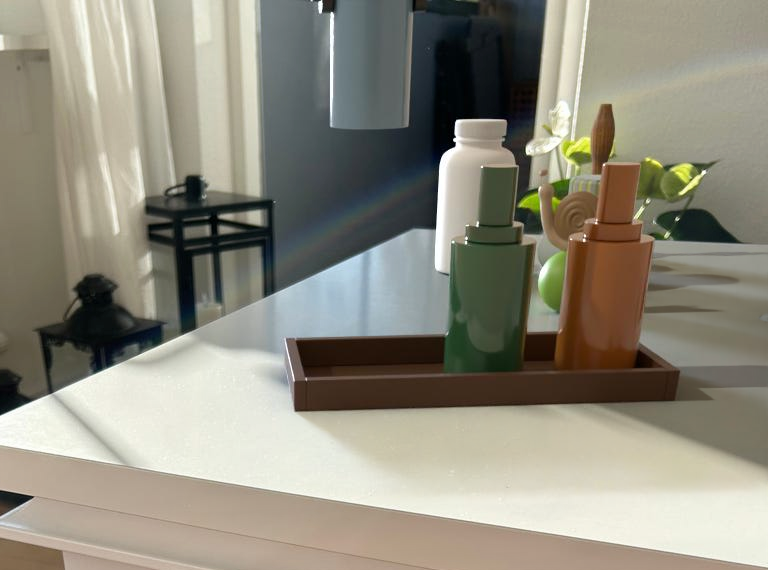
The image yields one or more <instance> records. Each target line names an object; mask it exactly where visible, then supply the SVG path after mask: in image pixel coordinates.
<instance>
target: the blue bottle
mask: <svg viewBox="0 0 768 570" xmlns="http://www.w3.org/2000/svg"><path fill="white" fill-rule="evenodd" d="M413 7H414V0H333V13H330V56H329V57H330V59H329V61H330V62H329V63H330V65H329V66H330V69H329V70H330V71H329V74H330V75H329V77H330V80H329V96H330V97H329V128H331V129H335V130H336V129H338V130H391V129H393V130H394V129H404V128H408V127H409V126H410V125H409V123H410V105H411V104H410V101H411V79H412V54H413V30H414V29H413V28H414V13H413Z"/></svg>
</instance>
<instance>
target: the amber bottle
mask: <svg viewBox="0 0 768 570" xmlns="http://www.w3.org/2000/svg"><path fill="white" fill-rule="evenodd" d="M641 168H642V164H641V163H640V162H633V161H608V162H606V163H603V165H602V173H601V181H600V189H599V196H598V204H597V212H596V218H591V219H587V220H585V221H584V229H583V232H580V233H575V234H572V235H570V236H569V239H568V247H567V256H566V264H565V273H564V281H563V290H562V298H561V306H560V312H559V315H558V324H557V331H558V332H557V340H556V349H555V357H554V366H553V371H562V370H599V369H635V365H636V359H637V352H638V346H639V342H640V339H641V332H642V326H643V320H644V314H645V308H646V307H645V306H646V300H647V294H648V289H649V288H648V287H649V282H650V276H651V270H652V264H653V256H654V250H655V244H656V238H655V237H654V236H652V235H649V234H644V233H643V229H644V221H643V220H641V219H636V218H634V216H635V210H636V201H637V195H638V188H639V182H640V175H641Z"/></svg>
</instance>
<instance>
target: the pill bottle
mask: <svg viewBox="0 0 768 570" xmlns="http://www.w3.org/2000/svg"><path fill="white" fill-rule="evenodd" d="M454 124H455V125H454V136H455V137H454V138H453V142H454V143H455V147H452V148H450V149H448V150H447V151H445V152H444V153H443V154H442V156H441V159H440V163H439V171H438V173H439V174H438V192H437V212H436V228H435V229H436V230H435V250H434V251H435V252H434V265H435V266H434V267H435V270H436V271H437V272H440V273H441V274H446V275H449V271H450V255H451V240H452V239H453V238H454V237H457V236H461V235H465V233H466V224H467V223H468V222H471V221H477V215H478V201H479V188H480V175H481V166H482V165H487V164H512V165H516V159H515V155H514V154H513V152H512V151H511V150H509V149H508V148H506V147H503V146H502V144H503V142H505V141H506V138H505V136H507V129H508V128H507V127H508V122H507V120H506V119H495V118H494V119H493V118H477V119H476V118H472V119H471V118H469V119H468V118H467V119H464V118H463V119H456V121H455V123H454Z"/></svg>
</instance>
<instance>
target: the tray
mask: <svg viewBox="0 0 768 570" xmlns="http://www.w3.org/2000/svg"><path fill="white" fill-rule="evenodd" d="M557 332H558V330H552V331H551V330H550V331H549V330H548V331H547V330H546V331H545V330H544V331H527V339H526V349H525V358H524V368H523V372H488V373H451V374H443V364H444V348H445V333H431V334H430V333H429V334H428V333H427V334H395V335H391V334H390V335H354V336H353V335H351V336H348V335H347V336H316V337H315V336H313V337H311V336H309V337H285V338H283V339H284V340H283V343H284V367H285V373H286V378H287V383H288V388H289V392H290V398H291V403H292V407H293V412H296V413H297V412H298V413H299V412H302V413H303V412H330V411H331V412H333V411H334V412H335V411H336V412H337V411H366V410H368V411H369V410H370V411H371V410H373V411H374V410H403V409H404V410H405V409H434V408H435V409H437V408H438V409H439V408H472V407H473V408H474V407H509V406H511V407H512V406H540V405H542V406H543V405H572V404H573V405H576V404H577V405H579V404H612V403H613V404H615V403H617V404H619V403H649V402H650V403H651V402H675V401H676V397H677V393H678V386H679V380H680V374H681V369H679V368H677V367H676V366H675V365H674V364H672V363H670V362H669V361H667V360H666V359H665V358H663V357H661V356H660V355H659V354H657V353H656V352H654V351H653V350H651V349H650V348H648V347H647V346H645V345H644V344H642V343H641V342H640V341H639V346H638V352H637V359H636V365H635V369H599V370H562V371H553V366H554V357H555V349H556V340H557Z"/></svg>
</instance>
